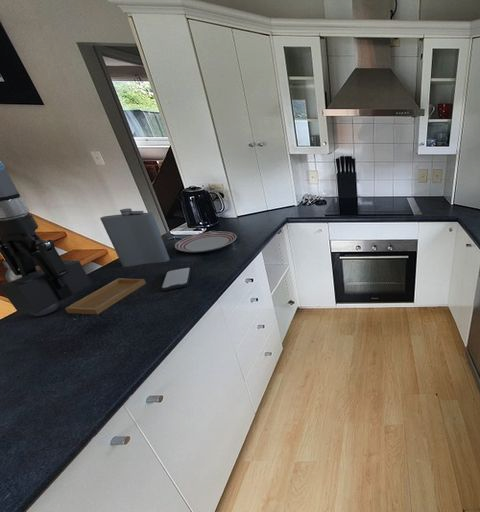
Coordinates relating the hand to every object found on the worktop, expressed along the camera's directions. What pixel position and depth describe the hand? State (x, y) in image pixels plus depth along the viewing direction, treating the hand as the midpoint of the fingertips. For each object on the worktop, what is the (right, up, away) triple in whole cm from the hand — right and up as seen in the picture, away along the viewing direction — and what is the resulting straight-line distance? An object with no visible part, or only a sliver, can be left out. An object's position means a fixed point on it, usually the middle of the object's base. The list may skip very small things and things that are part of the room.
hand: (56, 296), depth 76 cm
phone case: (+7, +1, +36) cm, 36 cm away
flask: (-18, +8, +49) cm, 53 cm away
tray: (-10, -4, +25) cm, 27 cm away
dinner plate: (-1, +17, +66) cm, 68 cm away
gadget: (0, 0, 0) cm, 0 cm away
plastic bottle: (-23, -8, +16) cm, 29 cm away
